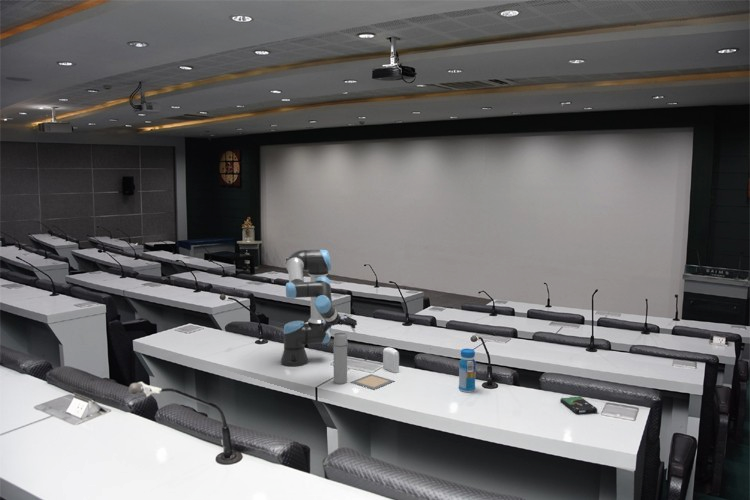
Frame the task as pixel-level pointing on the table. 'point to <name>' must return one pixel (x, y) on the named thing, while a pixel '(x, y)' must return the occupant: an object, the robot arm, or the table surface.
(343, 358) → the water bottle
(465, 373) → the beverage bottle
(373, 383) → the pad
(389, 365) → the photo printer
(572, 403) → the disk drive
